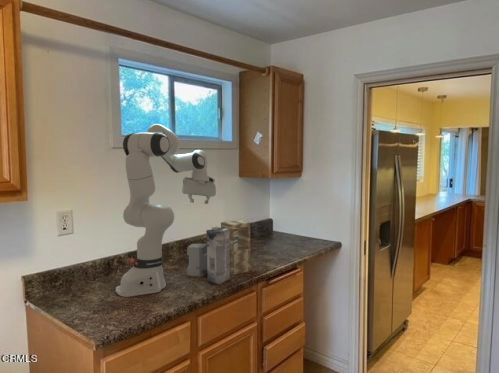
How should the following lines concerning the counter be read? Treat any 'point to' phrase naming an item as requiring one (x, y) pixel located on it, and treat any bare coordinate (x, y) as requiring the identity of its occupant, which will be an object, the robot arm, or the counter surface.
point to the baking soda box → (235, 239)
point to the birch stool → (239, 246)
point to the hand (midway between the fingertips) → (199, 203)
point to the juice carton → (218, 255)
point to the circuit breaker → (197, 260)
